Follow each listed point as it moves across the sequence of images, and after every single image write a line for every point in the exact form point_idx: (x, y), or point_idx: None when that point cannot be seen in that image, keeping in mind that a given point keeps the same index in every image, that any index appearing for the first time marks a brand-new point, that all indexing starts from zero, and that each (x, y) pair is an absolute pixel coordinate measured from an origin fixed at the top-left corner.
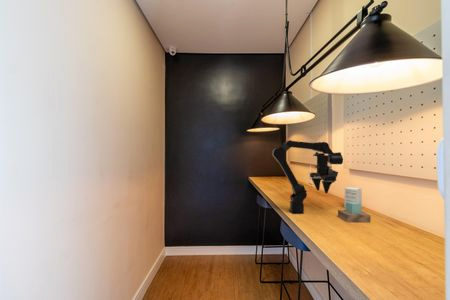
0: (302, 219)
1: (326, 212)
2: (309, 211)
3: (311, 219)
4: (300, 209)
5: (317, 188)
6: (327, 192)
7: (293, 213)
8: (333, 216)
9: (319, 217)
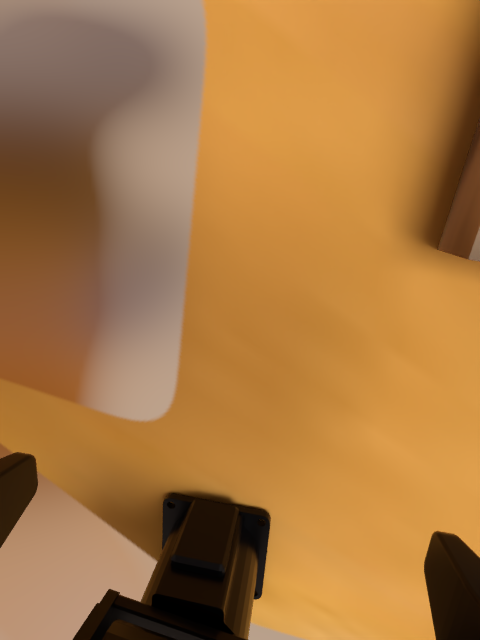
0: (427, 613)
1: (258, 273)
2: (199, 421)
3: None
4: (252, 566)
5: (3, 522)
6: (471, 556)
7: (261, 593)
8: (421, 299)
9: (413, 456)
